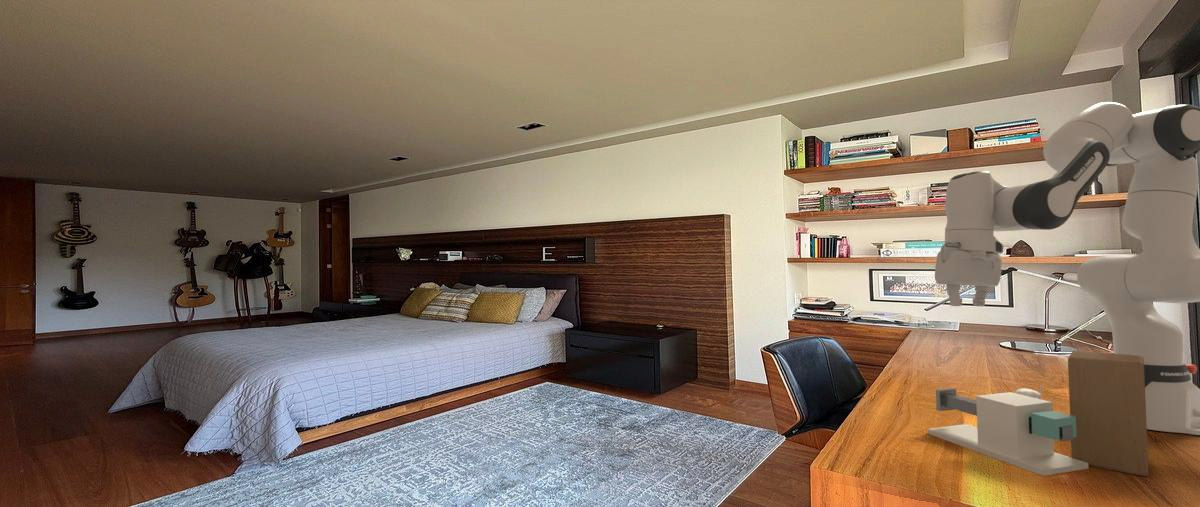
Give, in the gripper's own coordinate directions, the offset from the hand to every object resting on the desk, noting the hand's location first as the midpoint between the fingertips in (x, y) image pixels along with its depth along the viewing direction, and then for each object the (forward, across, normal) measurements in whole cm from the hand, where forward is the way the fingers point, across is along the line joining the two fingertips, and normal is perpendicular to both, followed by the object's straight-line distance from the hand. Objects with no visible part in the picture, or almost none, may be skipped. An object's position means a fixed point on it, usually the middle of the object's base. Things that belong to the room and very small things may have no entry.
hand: (967, 306), depth 114 cm
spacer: (+20, -6, -18) cm, 27 cm away
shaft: (+24, -3, -8) cm, 25 cm away
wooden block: (+28, +7, -22) cm, 36 cm away
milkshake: (+28, +16, -5) cm, 33 cm away
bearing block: (+28, -3, -8) cm, 30 cm away
